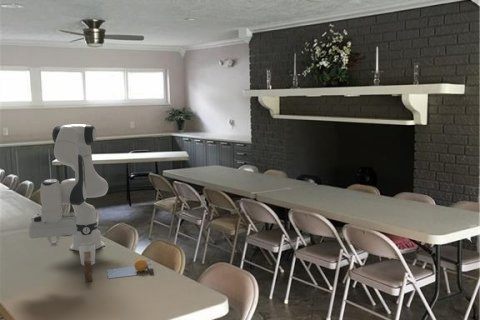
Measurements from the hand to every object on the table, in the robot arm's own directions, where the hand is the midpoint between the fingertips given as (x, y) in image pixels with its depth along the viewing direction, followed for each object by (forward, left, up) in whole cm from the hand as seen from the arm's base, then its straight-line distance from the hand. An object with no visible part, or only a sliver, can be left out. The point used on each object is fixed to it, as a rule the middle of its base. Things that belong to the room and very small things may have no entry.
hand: (54, 245), depth 234 cm
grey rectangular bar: (0, +42, -16) cm, 45 cm away
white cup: (-20, +14, -16) cm, 29 cm away
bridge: (0, +14, -16) cm, 21 cm away
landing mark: (0, +29, -16) cm, 33 cm away
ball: (+1, +38, -13) cm, 40 cm away
